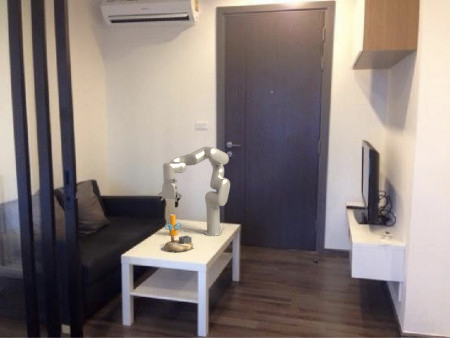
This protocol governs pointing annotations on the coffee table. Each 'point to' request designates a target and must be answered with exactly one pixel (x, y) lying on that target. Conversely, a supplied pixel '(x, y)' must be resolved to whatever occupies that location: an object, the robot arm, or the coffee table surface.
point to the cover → (185, 239)
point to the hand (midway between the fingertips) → (170, 206)
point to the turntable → (177, 245)
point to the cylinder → (172, 225)
